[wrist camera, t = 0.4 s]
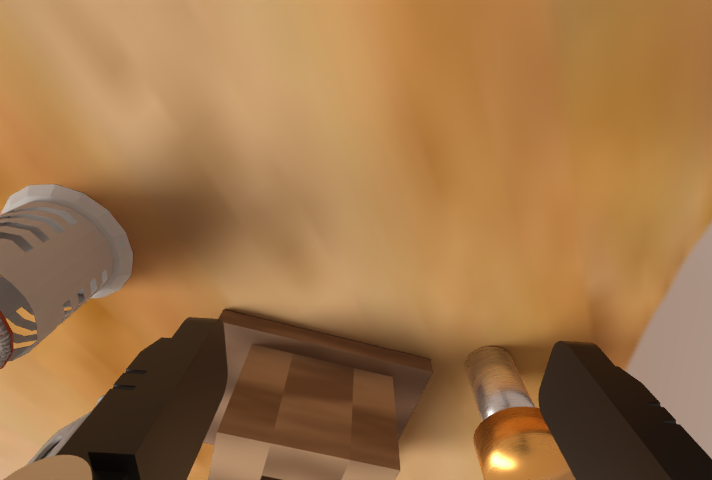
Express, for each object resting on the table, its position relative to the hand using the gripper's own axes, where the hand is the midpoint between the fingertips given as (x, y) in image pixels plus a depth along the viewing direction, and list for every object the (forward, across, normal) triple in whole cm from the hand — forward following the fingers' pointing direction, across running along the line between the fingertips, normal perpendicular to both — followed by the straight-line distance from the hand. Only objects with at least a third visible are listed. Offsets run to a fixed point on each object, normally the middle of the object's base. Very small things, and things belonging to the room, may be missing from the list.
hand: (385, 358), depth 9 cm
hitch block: (+19, +4, +21) cm, 29 cm away
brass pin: (+19, -11, +16) cm, 27 cm away
